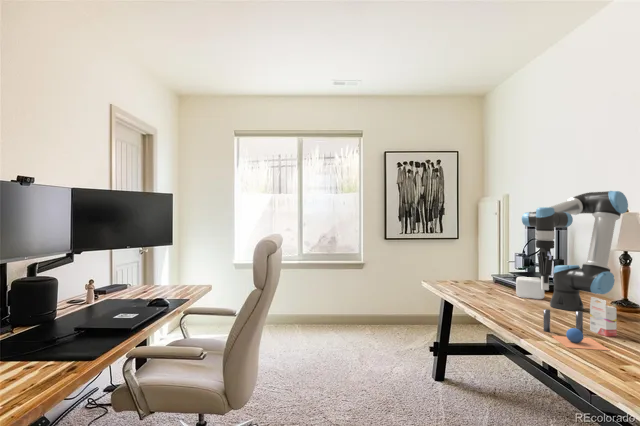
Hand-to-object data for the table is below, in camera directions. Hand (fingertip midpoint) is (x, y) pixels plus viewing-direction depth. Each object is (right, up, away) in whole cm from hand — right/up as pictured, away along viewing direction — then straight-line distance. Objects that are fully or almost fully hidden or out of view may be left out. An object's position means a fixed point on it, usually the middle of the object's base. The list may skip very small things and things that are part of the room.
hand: (544, 289), depth 176 cm
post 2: (+2, -14, -20) cm, 25 cm away
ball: (-8, -11, -32) cm, 35 cm away
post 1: (-10, -14, -18) cm, 25 cm away
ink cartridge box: (+12, -15, -20) cm, 28 cm away
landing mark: (-7, -14, -33) cm, 36 cm away
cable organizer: (+22, -16, +52) cm, 59 cm away
